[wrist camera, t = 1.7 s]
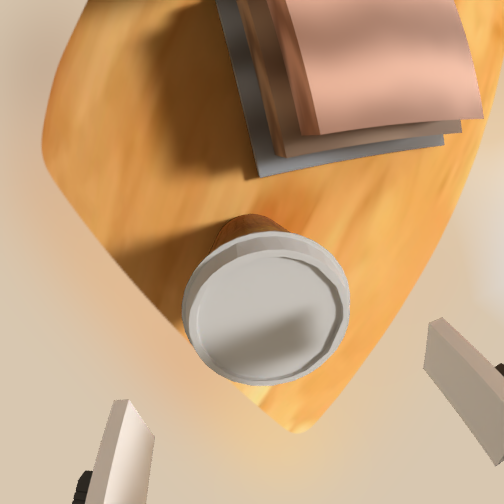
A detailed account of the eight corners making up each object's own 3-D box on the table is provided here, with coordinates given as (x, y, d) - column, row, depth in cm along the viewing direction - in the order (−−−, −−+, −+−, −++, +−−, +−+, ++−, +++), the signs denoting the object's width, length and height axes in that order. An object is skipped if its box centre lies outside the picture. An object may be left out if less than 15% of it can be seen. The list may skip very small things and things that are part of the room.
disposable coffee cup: (252, 316, 29) (269, 411, 18) (173, 253, 27) (143, 332, 15) (325, 246, 28) (387, 314, 17) (249, 170, 25) (273, 196, 14)
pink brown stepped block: (210, -16, 19) (208, -79, 10) (394, -21, 19) (448, -58, 10) (258, 176, 25) (280, 196, 16) (437, 144, 25) (508, 154, 16)
